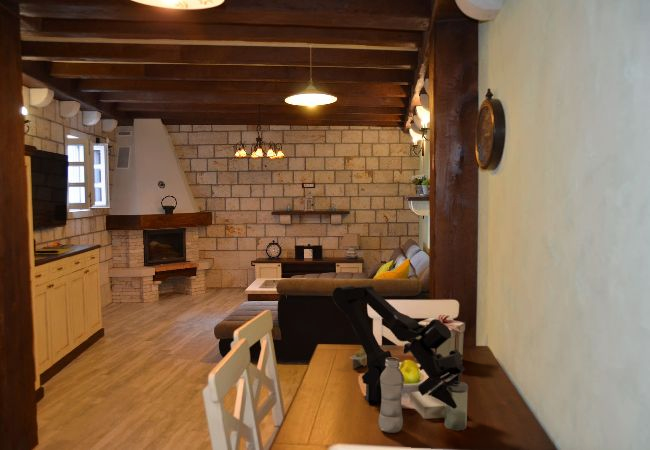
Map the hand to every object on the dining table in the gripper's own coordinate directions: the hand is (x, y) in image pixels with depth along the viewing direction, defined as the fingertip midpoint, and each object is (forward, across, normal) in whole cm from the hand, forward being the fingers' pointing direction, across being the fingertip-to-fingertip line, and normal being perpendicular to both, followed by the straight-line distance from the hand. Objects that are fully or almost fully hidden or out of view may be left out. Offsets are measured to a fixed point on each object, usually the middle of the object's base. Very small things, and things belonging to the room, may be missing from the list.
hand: (460, 404), depth 151 cm
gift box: (-18, +53, +28) cm, 63 cm away
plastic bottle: (-5, -15, +14) cm, 21 cm away
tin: (+4, 0, +6) cm, 7 cm away
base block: (-3, +7, +13) cm, 15 cm away
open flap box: (-32, +24, +42) cm, 58 cm away
